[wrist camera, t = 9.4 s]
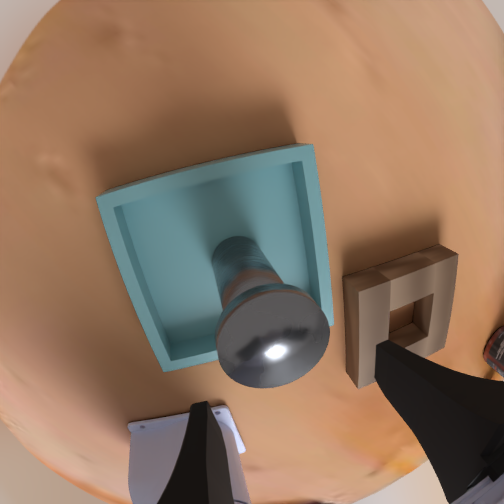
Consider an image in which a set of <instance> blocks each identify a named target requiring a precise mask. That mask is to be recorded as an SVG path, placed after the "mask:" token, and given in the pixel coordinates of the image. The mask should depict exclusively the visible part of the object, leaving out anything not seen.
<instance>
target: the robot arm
mask: <svg viewBox="0 0 504 504" xmlns="http://www.w3.org/2000/svg"><path fill="white" fill-rule="evenodd" d="M374 378H375V380H376V381H377V383H378V385H379V387H380V389H381V390H382V392H383V394H384V395H385V397H386V398H387V399H388V401H389V402H390V403H391V404H392V406H393V407H394V408H395V410H396V411H397V412H398V413H399V415H400V416H401V417H402V418H403V420H404V421H405V422H406V424H407V425H408V426H409V427H410V429H411V430H412V431H413V433H414V434H415V436H416V437H417V439H418V441H419V443H420V444H421V446H422V448H423V449H424V451H425V453H426V455H427V457H428V459H429V460H430V462H431V464H432V466H433V469H434V471H435V473H436V475H437V477H438V479H439V481H440V484H441V486H442V489H443V491H444V493H445V496H446V499H447V501H448V503H449V504H504V381H496V380H489V379H484V378H479V377H475V376H471V375H467V374H464V373H460V372H457V371H454V370H451V369H449V368H446V367H444V366H441V365H439V364H436V363H434V362H432V361H430V360H427V359H425V358H423V357H421V356H419V355H417V354H415V353H413V352H411V351H409V350H407V349H405V348H403V347H401V346H400V345H398V344H396V343H394V342H392V341H390V340H386V341H383V342H381V343H379V344H377V345H376V355H375V374H374ZM216 411H218V412H216ZM142 425H143V426H142ZM128 429H129V431H130V432H131V440H130V455H129V474H128V485H129V491H130V496H131V499H132V502H133V504H251V500H250V497H249V493H248V489H247V485H246V481H245V477H244V473H243V469H242V465H241V461H240V457H239V454H240V453H243V452H245V451H246V448H245V446H244V443H243V441H242V439H241V436H240V434H239V432H238V429H237V427H236V425H235V422H234V420H233V418H232V415H231V413H230V410H229V408H228V406H226V405H221V406H216V407H212V408H210V406H209V404H208V402H207V401H204V402H200V403H195V404H192V405H191V407H190V412H189V413H184V414H179V415H174V416H168V417H163V418H157V419H151V420H144V421H138V422H131V423H128Z"/></svg>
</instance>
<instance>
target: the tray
mask: <svg viewBox="0 0 504 504" xmlns="http://www.w3.org/2000/svg"><path fill="white" fill-rule="evenodd" d="M96 201H97V204H98V208H99V211H100V214H101V218H102V221H103V224H104V227H105V230H106V233H107V236H108V239H109V242H110V245H111V248H112V251H113V254H114V257H115V259H116V262H117V265H118V268H119V270H120V273H121V276H122V278H123V281H124V283H125V286H126V289H127V291H128V294H129V296H130V299H131V301H132V304H133V306H134V308H135V311H136V313H137V316H138V318H139V320H140V323H141V325H142V327H143V329H144V332H145V334H146V336H147V338H148V341H149V343H150V345H151V347H152V349H153V351H154V353H155V356H156V358H157V360H158V362H159V364H160V366H161V368H162V370H163V372H168V371H173V370H177V369H182V368H186V367H190V366H195V365H199V364H203V363H207V362H211V361H215V360H219V359H218V354H217V349H216V343H215V328H216V324H217V321H218V319H219V317H220V315H221V313H222V312H223V309H222V305H221V301H220V297H219V293H218V289H217V284H216V280H215V276H214V272H213V267H212V255H213V252H214V250H215V249H216V247H217V246H218V245H219V244H220V243H221V242H222V241H223V240H225V239H227V238H229V237H233V236H244V237H247V238H250V239H251V240H253V241H254V242H255V243H256V244H257V245H258V246H259V248H260V249H261V251H262V252H263V253H264V255H265V256H266V258H267V259H268V261H269V262H270V264H271V265H272V266H273V268H274V269H275V271H276V272H277V274H278V275H279V277H280V278H281V280H282V281H283V282H284V284H289V285H293V286H296V287H298V288H300V289H302V290H304V291H305V292H306V293H308V294H309V295H310V296H311V297H312V298H313V299H314V301H315V302H316V303H317V305H318V306H319V307H320V308H321V310H322V311H323V312H324V314H325V315H326V317H327V320H328V323H329V326H332V325H334V317H333V303H332V291H331V279H330V269H329V258H328V249H327V240H326V231H325V223H324V215H323V207H322V200H321V192H320V185H319V178H318V172H317V165H316V159H315V153H314V147H313V144H301V143H297V144H291V145H285V146H280V147H274V148H269V149H264V150H259V151H254V152H249V153H244V154H240V155H235V156H231V157H226V158H222V159H217V160H213V161H209V162H205V163H201V164H197V165H193V166H189V167H185V168H181V169H177V170H173V171H170V172H166V173H162V174H159V175H155V176H152V177H148V178H145V179H141V180H138V181H134V182H131V183H128V184H125V185H121V186H118V187H115V188H112V189H109V190H106V191H105V192H103V193H102V194H100V195H99V196H97V197H96Z"/></svg>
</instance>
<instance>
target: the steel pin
mask: <svg viewBox="0 0 504 504" xmlns="http://www.w3.org/2000/svg"><path fill="white" fill-rule="evenodd" d="M212 267H213V272H214V276H215V280H216V284H217V289H218V293H219V297H220V301H221V305H222V309H223V312H222V313H221V315H220V317H219V319H218V321H217V324H216V328H215V343H216V349H217V354H218V359H219V362H220V365H221V367H222V369H223V370H224V372H225V373H226V374H227V375H228V376H229V377H230V378H231V379H233V380H234V381H236V382H238V383H240V384H242V385H245V386H248V387H253V388H273V387H278V386H282V385H285V384H288V383H290V382H293V381H295V380H297V379H299V378H300V377H302V376H303V375H305V374H306V373H307V372H309V371H310V370H311V369H312V368H313V367H314V366H315V365H316V364H317V363H318V362H319V360H320V359H321V357H322V356H323V354H324V352H325V350H326V348H327V345H328V342H329V336H330V328H329V323H328V320H327V317H326V315H325V314H324V312H323V311H322V310H321V308H320V307H319V306H318V305H317V303H316V302H315V301H314V299H313V298H312V297H311V296H310V295H309V294H308V293H306V292H305V291H304V290H302V289H300V288H298V287H296V286H293V285H289V284H284V282H283V281H282V280H281V278H280V277H279V275H278V274H277V272H276V271H275V269H274V268H273V266H272V265H271V264H270V262H269V261H268V259H267V258H266V256H265V255H264V253H263V252H262V251H261V249H260V248H259V246H258V245H257V244H256V243H255V242H254V241H253V240H251V239H250V238H247V237H244V236H233V237H229V238H227V239H225V240H223V241H222V242H221V243H220V244H219V245H218V246H217V247H216V249H215V250H214V252H213V255H212Z"/></svg>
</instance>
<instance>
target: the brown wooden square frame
mask: <svg viewBox="0 0 504 504" xmlns="http://www.w3.org/2000/svg"><path fill="white" fill-rule="evenodd" d="M457 265H458V254H457V253H456V252H454V251H452V250H450V249H448V248H446V247H444V246H442V245H440V244H439V245H436V246H433V247H430V248H427V249H425V250H422V251H419V252H416V253H413V254H410V255H408V256H405V257H402V258H399V259H396V260H393V261H390V262H387V263H384V264H381V265H378V266H375V267H372V268H369V269H366V270H363V271H360V272H357V273H354V274H351V275H347V276H344V277H343V293H344V311H345V336H346V372H347V374H348V375H349V377H350V378H351V380H352V381H353V383H354V384H355V385H356V387H357V388H358V389H360V388H362V387H364V386H367V385H369V384H371V383H374V382H376V380H375V378H374V374H375V355H376V345H377V344H379V343H381V342H383V341H386V340H390V341H392V342H394V343H396V344H398V345H400V346H401V347H403V348H405V349H407V350H409V351H411V352H413V353H415V354H417V355H419V356H421V357H423V358H425V357H427V356H429V355H431V354H433V353H435V352H437V351H438V350H440V349H442V348H444V347H445V342H446V338H447V333H448V327H449V322H450V316H451V311H452V304H453V298H454V290H455V283H456V274H457ZM414 301H415V305H414V316H413V323H411V324H409V325H407V326H404V327H402V328H400V329H398V330H395V331H393V332H391V333H389V319H390V311H393V310H395V309H398V308H400V307H403V306H405V305H407V304H410V303H412V302H414Z"/></svg>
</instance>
